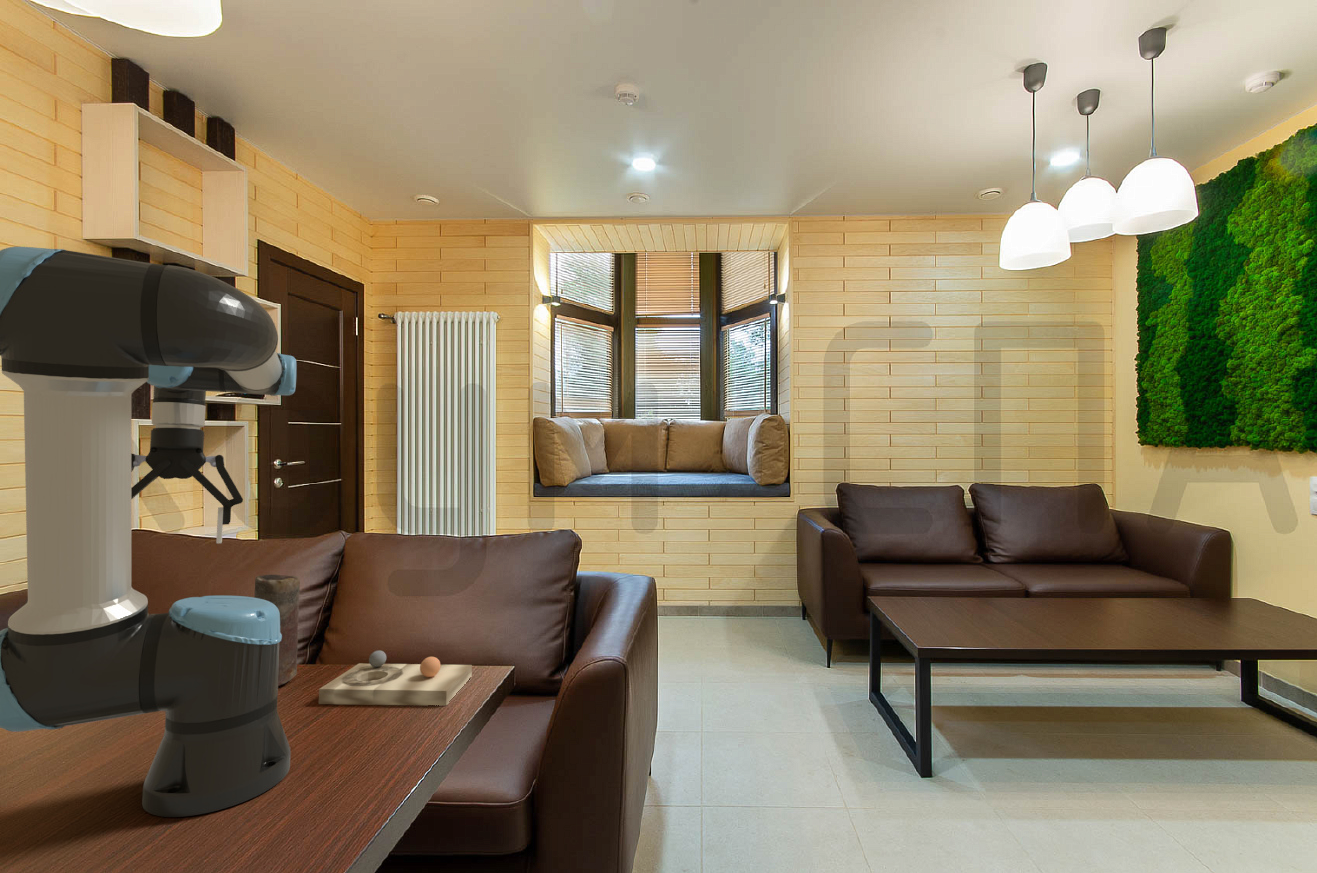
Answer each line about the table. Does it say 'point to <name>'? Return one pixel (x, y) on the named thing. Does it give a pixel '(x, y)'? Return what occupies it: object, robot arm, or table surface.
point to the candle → (283, 618)
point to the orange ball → (430, 666)
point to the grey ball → (377, 658)
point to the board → (395, 685)
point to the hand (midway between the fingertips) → (172, 545)
